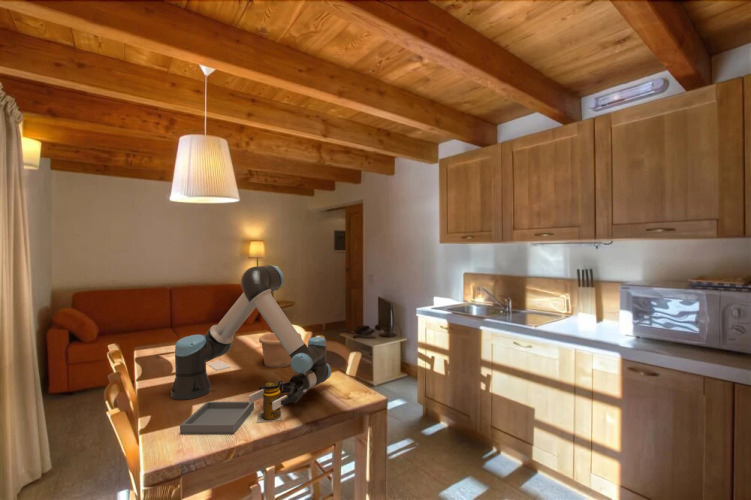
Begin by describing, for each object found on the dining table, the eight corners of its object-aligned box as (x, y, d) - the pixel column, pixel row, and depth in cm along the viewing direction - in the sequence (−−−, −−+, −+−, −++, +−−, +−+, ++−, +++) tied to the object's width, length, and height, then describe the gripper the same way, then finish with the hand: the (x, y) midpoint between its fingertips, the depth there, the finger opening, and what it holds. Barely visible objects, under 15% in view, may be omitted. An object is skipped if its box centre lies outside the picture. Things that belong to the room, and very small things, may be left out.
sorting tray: (179, 434, 117) (179, 425, 117) (207, 409, 135) (207, 401, 135) (233, 434, 116) (233, 425, 116) (253, 409, 134) (253, 401, 134)
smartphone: (220, 360, 194) (231, 366, 184) (220, 361, 194) (231, 367, 184) (206, 363, 189) (216, 369, 178) (206, 365, 189) (216, 371, 178)
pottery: (298, 354, 204) (297, 329, 204) (304, 366, 183) (303, 338, 183) (258, 359, 196) (258, 333, 196) (260, 372, 175) (260, 343, 175)
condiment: (281, 420, 126) (280, 386, 125) (256, 423, 124) (255, 389, 124) (282, 411, 133) (281, 379, 133) (258, 413, 131) (257, 381, 131)
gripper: (325, 396, 138) (285, 420, 119) (281, 386, 150) (238, 406, 130) (325, 377, 138) (285, 398, 119) (281, 368, 150) (238, 386, 130)
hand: (260, 402), depth 125 cm, fingers open, 11 cm apart
